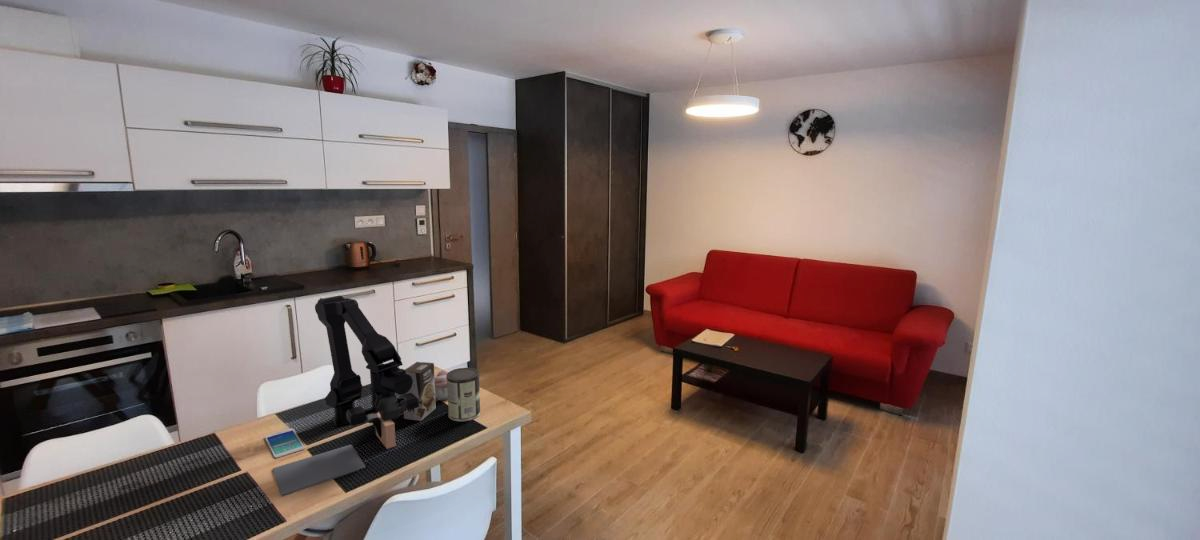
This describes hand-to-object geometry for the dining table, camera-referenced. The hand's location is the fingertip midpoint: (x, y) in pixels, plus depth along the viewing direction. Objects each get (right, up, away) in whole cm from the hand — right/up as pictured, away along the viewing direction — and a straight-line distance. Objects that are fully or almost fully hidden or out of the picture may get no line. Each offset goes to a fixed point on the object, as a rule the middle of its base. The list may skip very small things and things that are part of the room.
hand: (385, 435), depth 144 cm
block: (0, -2, 0) cm, 2 cm away
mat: (-11, -4, -14) cm, 18 cm away
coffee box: (+4, +1, +17) cm, 17 cm away
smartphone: (-28, -2, -2) cm, 28 cm away
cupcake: (+8, +4, +29) cm, 31 cm away
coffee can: (+18, +1, +17) cm, 25 cm away
